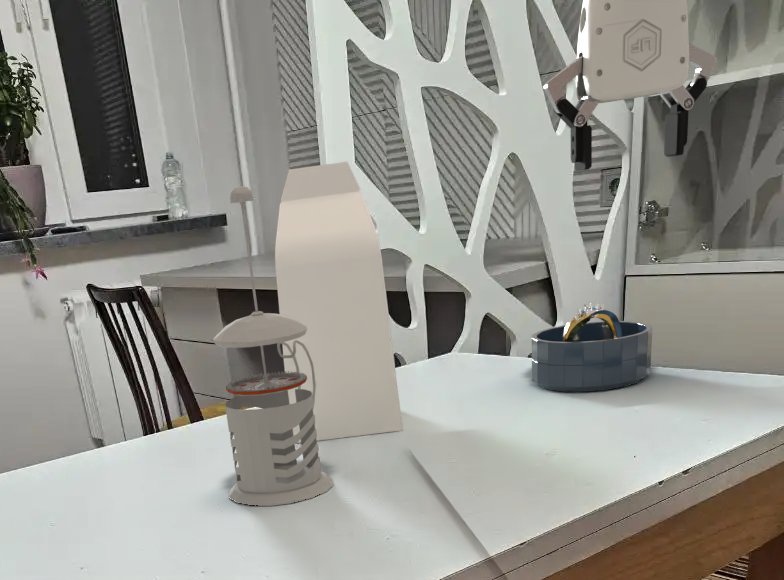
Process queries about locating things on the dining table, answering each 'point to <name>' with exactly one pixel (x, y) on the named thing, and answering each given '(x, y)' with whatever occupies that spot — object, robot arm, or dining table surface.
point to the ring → (585, 317)
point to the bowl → (591, 357)
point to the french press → (271, 411)
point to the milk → (336, 302)
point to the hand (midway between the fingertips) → (628, 162)
